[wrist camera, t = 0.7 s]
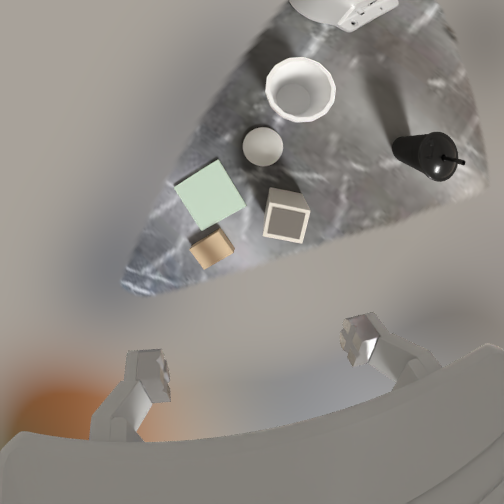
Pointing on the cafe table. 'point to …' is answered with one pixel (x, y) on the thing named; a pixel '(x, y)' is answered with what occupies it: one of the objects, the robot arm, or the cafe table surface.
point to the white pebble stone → (262, 146)
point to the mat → (210, 195)
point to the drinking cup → (429, 154)
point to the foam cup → (300, 89)
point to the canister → (285, 215)
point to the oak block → (212, 248)
